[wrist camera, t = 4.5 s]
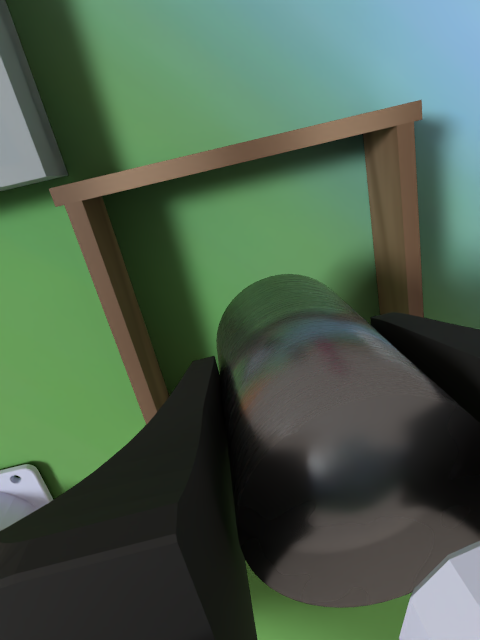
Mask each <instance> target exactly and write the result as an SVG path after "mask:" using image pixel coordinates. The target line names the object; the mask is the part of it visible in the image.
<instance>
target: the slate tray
mask: <svg viewBox="0 0 480 640" xmlns="http://www.w3.org/2000/svg"><path fill="white" fill-rule="evenodd" d="M67 175H68V173H67V170H66V167H65V164H64V162H63V159H62V156H61V153H60V150H59V148H58V145H57V142H56V139H55V137H54V134H53V131H52V128H51V125H50V123H49V120H48V117H47V114H46V112H45V109H44V106H43V103H42V101H41V98H40V95H39V92H38V89H37V87H36V84H35V81H34V78H33V76H32V73H31V70H30V67H29V64H28V62H27V59H26V56H25V53H24V51H23V48H22V45H21V42H20V39H19V37H18V34H17V31H16V28H15V26H14V23H13V20H12V17H11V14H10V12H9V9H8V6H7V3H6V1H5V0H0V191H4V190H8V189H13V188H17V187H21V186H25V185H30V184H34V183H38V182H42V181H46V180H51V179H55V178H59V177H63V176H67Z"/></svg>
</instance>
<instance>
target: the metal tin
mask: <svg viewBox="0 0 480 640" xmlns="http://www.w3.org/2000/svg"><path fill="white" fill-rule="evenodd" d="M216 341H217V354H218V363H219V372H220V380H221V389H222V399H223V408H224V417H225V426H226V435H227V444H228V453H229V462H230V471H231V480H232V489H233V498H234V507H235V516H236V525H237V534H238V539H239V544H240V548H241V550H242V553H243V555H244V558H245V560H246V561H247V563H248V565H249V566H250V568H251V569H252V571H253V572H254V573H255V574H256V575H257V576H258V577H259V578H260V580H262V581H263V582H264V583H265V584H267V585H268V586H269V587H270V588H272V589H273V590H275V591H277V592H279V593H280V594H282V595H284V596H286V597H289V598H291V599H294V600H296V601H300V602H303V603H307V604H311V605H317V606H323V607H358V606H366V605H372V604H376V603H381V602H385V601H389V600H392V599H395V598H398V597H401V596H404V595H406V594H409V593H411V592H413V590H414V588H415V587H416V586H417V585H418V584H419V583H420V582H421V581H422V580H423V579H424V578H425V577H426V576H427V575H428V574H429V573H430V572H431V571H432V570H433V569H434V568H435V567H436V566H437V565H438V564H439V563H440V562H441V561H442V560H443V559H444V558H445V557H446V556H447V555H449V554H451V553H453V552H455V551H458V550H460V549H462V548H464V547H467V546H469V545H471V544H473V543H475V542H478V541H480V423H479V422H478V421H477V420H476V419H475V418H474V417H472V416H471V415H470V414H469V413H468V412H467V411H466V410H465V409H464V408H462V407H461V406H460V405H459V404H458V403H457V402H456V401H455V400H454V399H452V398H451V397H450V396H449V395H448V394H447V393H446V392H445V391H444V390H442V389H441V388H440V387H439V386H438V385H437V384H436V383H435V382H434V381H432V380H431V379H430V378H429V377H428V376H427V375H426V374H425V373H424V372H422V371H421V370H420V369H419V368H418V367H417V366H416V365H415V364H414V363H412V362H411V361H410V360H409V359H408V358H407V357H406V356H405V355H403V354H402V353H401V352H400V351H399V350H398V349H397V348H396V347H395V346H393V345H392V344H391V343H390V342H389V341H388V340H387V339H386V338H385V337H383V336H382V335H381V334H380V333H379V332H378V331H377V330H376V329H375V328H373V327H372V326H371V325H370V324H369V323H368V322H367V321H366V320H365V319H363V318H362V317H361V316H360V315H359V314H358V313H357V312H356V311H355V310H353V309H352V308H351V307H350V306H349V305H348V304H347V303H346V302H345V301H343V300H342V299H341V298H340V297H339V296H338V295H337V294H336V293H335V292H333V291H332V290H331V289H330V288H329V287H327V286H326V285H325V284H323V283H321V282H319V281H317V280H315V279H312V278H310V277H306V276H302V275H293V274H284V275H276V276H271V277H268V278H265V279H262V280H259V281H257V282H255V283H253V284H252V285H250V286H248V287H247V288H245V289H244V290H243V291H242V292H240V293H239V294H238V295H237V296H236V297H235V298H234V299H233V300H232V301H231V303H230V304H229V305H228V307H227V308H226V310H225V312H224V314H223V315H222V318H221V321H220V323H219V327H218V331H217V340H216Z"/></svg>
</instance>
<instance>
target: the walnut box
mask: <svg viewBox="0 0 480 640" xmlns="http://www.w3.org/2000/svg"><path fill="white" fill-rule="evenodd" d="M418 120H422V102H421V100H419V101H415V102H411V103H406V104H402V105H398V106H394V107H390V108H385V109H381V110H377V111H373V112H369V113H364V114H360V115H356V116H352V117H348V118H343V119H339V120H335V121H331V122H327V123H322V124H318V125H314V126H310V127H306V128H301V129H297V130H293V131H289V132H285V133H280V134H276V135H272V136H268V137H264V138H259V139H255V140H251V141H247V142H243V143H238V144H234V145H230V146H226V147H222V148H217V149H213V150H209V151H205V152H201V153H196V154H192V155H188V156H184V157H179V158H175V159H171V160H167V161H163V162H158V163H154V164H150V165H146V166H142V167H137V168H133V169H129V170H125V171H121V172H116V173H112V174H108V175H104V176H100V177H95V178H91V179H87V180H83V181H79V182H74V183H70V184H66V185H62V186H58V187H53V188H49V191H50V193H51V196H52V199H53V201H54V204H55V206H56V207H57V206H61V205H65V208H66V211H67V213H68V216H69V219H70V221H71V224H72V227H73V229H74V232H75V235H76V237H77V240H78V243H79V245H80V248H81V251H82V253H83V256H84V259H85V261H86V264H87V267H88V269H89V272H90V275H91V277H92V280H93V283H94V285H95V288H96V291H97V294H98V296H99V299H100V302H101V304H102V307H103V310H104V312H105V315H106V318H107V320H108V323H109V326H110V328H111V331H112V334H113V336H114V339H115V342H116V344H117V347H118V350H119V352H120V355H121V358H122V360H123V363H124V366H125V368H126V371H127V374H128V376H129V379H130V382H131V384H132V387H133V390H134V392H135V395H136V398H137V401H138V403H139V406H140V409H141V411H142V414H143V417H144V419H145V422H146V425H147V423H148V422H149V421H150V420H151V419H152V418H153V417H154V415H155V414H156V413H157V412H158V410H159V409H160V408H161V407H162V405H163V404H164V403H165V401H166V400H167V399H168V398H169V394H168V391H167V388H166V385H165V382H164V379H163V376H162V373H161V370H160V367H159V364H158V361H157V358H156V355H155V352H154V349H153V346H152V343H151V340H150V337H149V334H148V331H147V328H146V325H145V322H144V319H143V316H142V314H141V311H140V308H139V305H138V302H137V299H136V296H135V293H134V290H133V287H132V284H131V281H130V278H129V275H128V272H127V269H126V266H125V263H124V260H123V257H122V254H121V251H120V248H119V245H118V242H117V239H116V236H115V233H114V230H113V227H112V224H111V221H110V218H109V216H108V213H107V210H106V207H105V204H104V201H103V198H102V196H103V195H108V194H112V193H116V192H120V191H124V190H129V189H133V188H137V187H141V186H145V185H149V184H154V183H158V182H162V181H166V180H170V179H175V178H179V177H183V176H187V175H191V174H196V173H200V172H204V171H208V170H212V169H217V168H221V167H225V166H229V165H233V164H237V163H242V162H246V161H250V160H254V159H258V158H263V157H267V156H271V155H275V154H279V153H284V152H288V151H292V150H296V149H300V148H305V147H309V146H313V145H317V144H321V143H326V142H330V141H334V140H338V139H342V138H346V137H351V136H355V135H359V134H363V140H364V150H365V161H366V171H367V182H368V192H369V203H370V213H371V224H372V234H373V245H374V256H375V266H376V277H377V287H378V298H379V308H380V315H383V314H387V313H391V312H395V313H403V314H409V315H414V316H419V317H423V318H424V313H423V293H422V274H421V254H420V234H419V214H418V195H417V175H416V155H415V135H414V121H418Z"/></svg>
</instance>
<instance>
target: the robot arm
mask: <svg viewBox="0 0 480 640" xmlns="http://www.w3.org/2000/svg"><path fill="white" fill-rule="evenodd" d="M370 318H371V326H372V327H373V328H375V329H376V330H377V331H378V332H379V333H380V334H381V335H382V336H383V337H385V338H386V339H387V340H388V341H389V342H390V343H391V344H392V345H393V346H395V347H396V348H397V349H398V350H399V351H400V352H401V353H402V354H403V355H405V356H406V357H407V358H408V359H409V360H410V361H411V362H412V363H414V364H415V365H416V366H417V367H418V368H419V369H420V370H421V371H422V372H424V373H425V374H426V375H427V376H428V377H429V378H430V379H431V380H432V381H434V382H435V383H436V384H437V385H438V386H439V387H440V388H441V389H442V390H444V391H445V392H446V393H447V394H448V395H449V396H450V397H451V398H452V399H454V400H455V401H456V402H457V403H458V404H459V405H460V406H461V407H462V408H464V409H465V410H466V411H467V412H468V413H469V414H470V415H471V416H472V417H474V418H475V419H476V420H477V421H478V422H479V423H480V330H479V329H474V328H469V327H464V326H459V325H454V324H450V323H445V322H441V321H436V320H432V319H428V318H423V317H419V316H414V315H409V314H403V313H395V312H391V313H387V314H383V315H379V316H375V317H370ZM14 475H17V476H19V477H20V478H17V477H15V476H14ZM0 640H257V634H256V628H255V622H254V616H253V609H252V603H251V596H250V590H249V583H248V577H247V570H246V563H245V558H244V555H243V553H242V550H241V548H240V544H239V539H238V534H237V525H236V516H235V507H234V498H233V489H232V480H231V471H230V462H229V453H228V444H227V435H226V426H225V417H224V408H223V399H222V389H221V380H220V375H219V371H218V367H217V364H216V360H215V356H212V357H208V358H204V359H200V360H196V361H193V362H192V363H191V365H190V366H189V368H188V369H187V371H186V372H185V374H184V376H183V377H182V379H181V380H180V382H179V383H178V385H177V386H176V388H175V389H174V391H173V392H172V394H171V395H170V396H169V398H168V399H167V400H166V401H165V403H164V404H163V405H162V407H161V408H160V409H159V410H158V412H157V413H156V414H155V415H154V417H153V418H152V419H151V420H150V421H149V422H148V423H147V425H146V426H145V427H144V428H143V429H142V430H141V431H140V432H139V433H138V434H137V435H136V436H135V437H134V438H133V439H132V440H131V441H130V442H129V443H128V444H127V445H126V446H124V447H123V448H122V449H121V450H120V451H118V452H117V453H116V454H115V455H114V456H113V457H111V458H110V459H109V460H108V461H107V462H105V463H104V464H103V465H102V466H101V467H99V468H98V469H97V470H96V471H94V472H93V473H92V474H90V475H89V476H87V477H86V478H85V479H83V480H82V481H81V482H79V483H78V484H76V485H75V486H73V487H72V488H71V489H69V490H68V491H66V492H65V493H63V494H62V495H60V496H59V497H57V498H56V499H54V500H53V498H52V496H51V494H50V492H49V490H48V488H47V486H46V484H45V483H44V481H43V479H42V477H41V475H40V473H39V471H38V469H37V468H36V467H35V466H33V465H30V464H24V465H20V466H16V467H12V468H8V469H4V470H0ZM399 640H480V541H478V542H475V543H473V544H471V545H469V546H467V547H464V548H462V549H460V550H458V551H455V552H453V553H451V554H449V555H447V556H446V557H445V558H444V559H443V560H442V561H441V562H440V563H439V564H438V565H437V566H436V567H435V568H434V569H433V570H432V571H431V572H430V573H429V574H428V575H427V576H426V577H425V578H424V579H423V580H422V581H421V582H420V583H419V584H418V585H417V586H416V587H415V588H414V590H413V592H412V595H411V597H410V600H409V604H408V607H407V611H406V615H405V618H404V622H403V625H402V629H401V633H400V636H399Z"/></svg>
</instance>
